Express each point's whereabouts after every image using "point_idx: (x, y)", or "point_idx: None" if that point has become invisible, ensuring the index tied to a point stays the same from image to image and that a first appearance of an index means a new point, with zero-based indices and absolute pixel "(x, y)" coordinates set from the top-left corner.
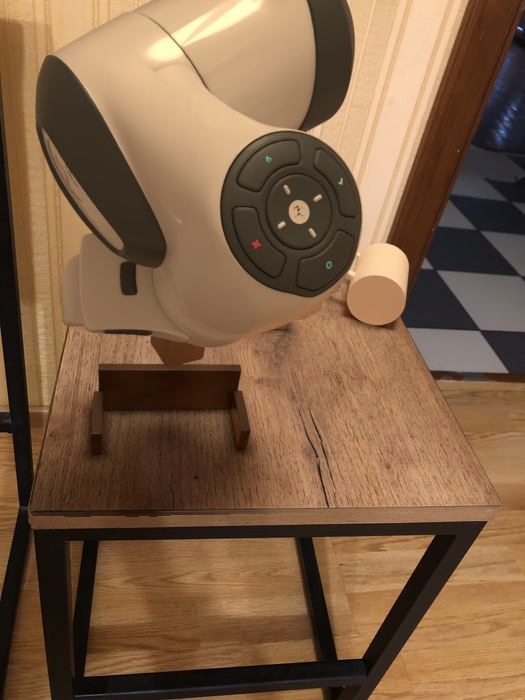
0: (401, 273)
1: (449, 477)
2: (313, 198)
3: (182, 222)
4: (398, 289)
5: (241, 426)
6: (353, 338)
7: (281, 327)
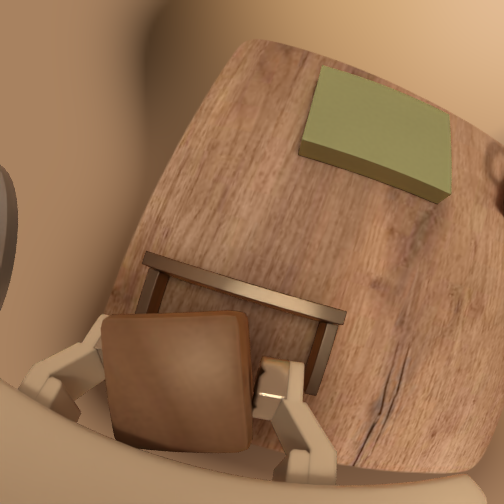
0: None
1: (467, 448)
2: None
3: None
4: None
5: (307, 387)
6: (494, 244)
7: (432, 200)
